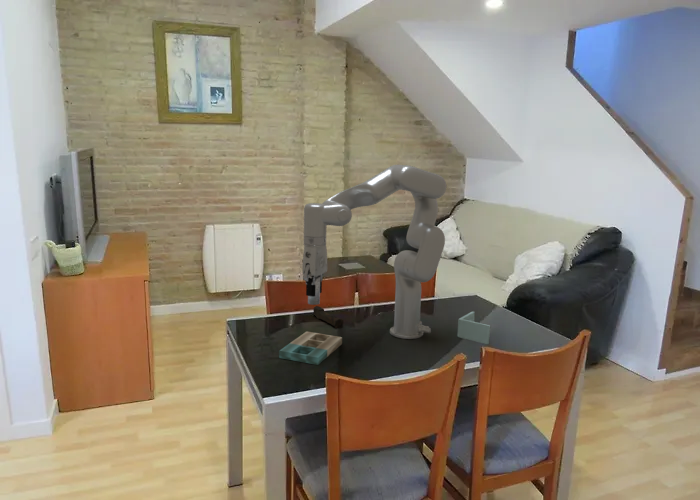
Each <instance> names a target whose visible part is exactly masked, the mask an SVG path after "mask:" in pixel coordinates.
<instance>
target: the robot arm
mask: <svg viewBox="0 0 700 500" xmlns="http://www.w3.org/2000/svg"><path fill="white" fill-rule="evenodd" d="M447 188H448V187H447V181H446V180H445V178H444V177H443V176H442V175H440V174H438V173H434V172H431V171H428V170H424V169H422V168H418V167H415V166H412V165H407V164H405V165H404V164H393V165H390V166H389V167H387V168H385V169H384V170H382V171H381V172H378V174H377V173H376V174H375V175H374V176H372V177H370V178H369V179H367V180H365V181H364V182H361V183H359V184H357V185H354V186H352V187H349V188H347V189H344V190H343V191H339V192H337V193H336V194H334V195H332V196H331V197H329V198H327V199H326V200H324V201H323V202H322V203H318V202H316V203H315V202H311V203H306V204H305V205H304V207H303V257H302V275H303V276H302V279H303V280H304V281H305V287H306V288H305V295H306V296H307V297H308V296H313V297H314V296H315V288H316V285H314V283H315V277H317V276H319V277H320V294H321V293H322V291H323V289H322V287H323V286H322V285H323V279H324V278H323V276H324V274H326V273H327V271H328V252H327V251H328V250H327V226H333V227H334V226H335V227H342V226H343V227H344V226H346V225H347V224H349V223H350V221H351V220H352V217H353V213H352V210H354V209H357V208H361V207H369V206H372V205H374V206H375V205H376V204H378V203H380V202H381V201H383V200H385V199H386V198H388V197H389V196H391V195H393V194H395V193H396V192H397V191H399V190H402V191H407V192H410V194H411V195H412V197H413V200H414V210H413V215H412V218H411V221H410V223H409V226H408V229H407V233H406V239H405V240H406V243H407V244H408V246H410V247H412V248H414V249H417V251H414V250H408V249H406V250H405V249H404V250H402V251H399V253H397V255H396V256H395V258H394V261H393V272H394V276H395V295H394V315H393V316H394V322H393V326H392V327H390V329H389V334H390V335H391V336H393V337H396V338H398V339H405V340H406V339H408V340H412V339H413V340H414V339H419V338H421V337H423V336H424V333H426V334H431V332H432V331H431V330H432V328H431V327H430V326H428V325H424V324H423V322H422V321H421V306H422V305H421V304H422V303H421V301H422V283H427V282H429V281H430V280H432V279H433V277H434V276H435V274H436V272H437V269H438V266H439V263H440V260H441V257H442V254H443V251H444V248H445V244H446V238H445V233H444V231H443V230H442V229H441V228H440V227H438V226H436V222H437V217H438V214H439V204H438V200H437V199H440V198H441V197H443V196H444V195H445V193H446V192H447ZM309 277H312V280H311V278H309Z"/></svg>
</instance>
